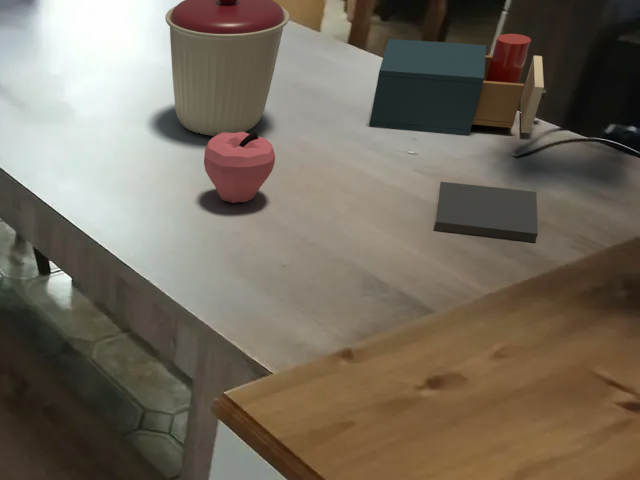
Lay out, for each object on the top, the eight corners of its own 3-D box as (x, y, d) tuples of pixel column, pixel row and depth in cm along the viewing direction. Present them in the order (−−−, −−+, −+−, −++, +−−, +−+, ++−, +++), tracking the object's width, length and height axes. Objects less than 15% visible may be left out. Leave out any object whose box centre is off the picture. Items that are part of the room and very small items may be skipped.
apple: (259, 182, 132) (267, 112, 125) (278, 210, 125) (288, 138, 118) (193, 189, 131) (198, 119, 124) (209, 217, 125) (215, 145, 118)
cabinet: (472, 100, 150) (486, 44, 144) (469, 135, 140) (484, 77, 134) (378, 92, 154) (388, 38, 149) (368, 126, 144) (379, 70, 138)
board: (533, 200, 124) (536, 191, 123) (535, 242, 115) (538, 233, 115) (438, 189, 127) (440, 181, 126) (433, 230, 119) (435, 221, 118)
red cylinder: (511, 102, 144) (531, 34, 137) (511, 113, 140) (531, 44, 134) (479, 99, 145) (497, 32, 138) (479, 110, 142) (497, 42, 135)
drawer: (537, 100, 146) (550, 56, 142) (538, 134, 137) (553, 88, 132) (438, 93, 150) (448, 49, 146) (433, 124, 141) (444, 79, 137)
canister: (300, 124, 146) (320, -21, 132) (218, 158, 138) (231, 8, 124) (217, 94, 157) (228, -43, 143) (137, 123, 149) (141, -18, 135)
